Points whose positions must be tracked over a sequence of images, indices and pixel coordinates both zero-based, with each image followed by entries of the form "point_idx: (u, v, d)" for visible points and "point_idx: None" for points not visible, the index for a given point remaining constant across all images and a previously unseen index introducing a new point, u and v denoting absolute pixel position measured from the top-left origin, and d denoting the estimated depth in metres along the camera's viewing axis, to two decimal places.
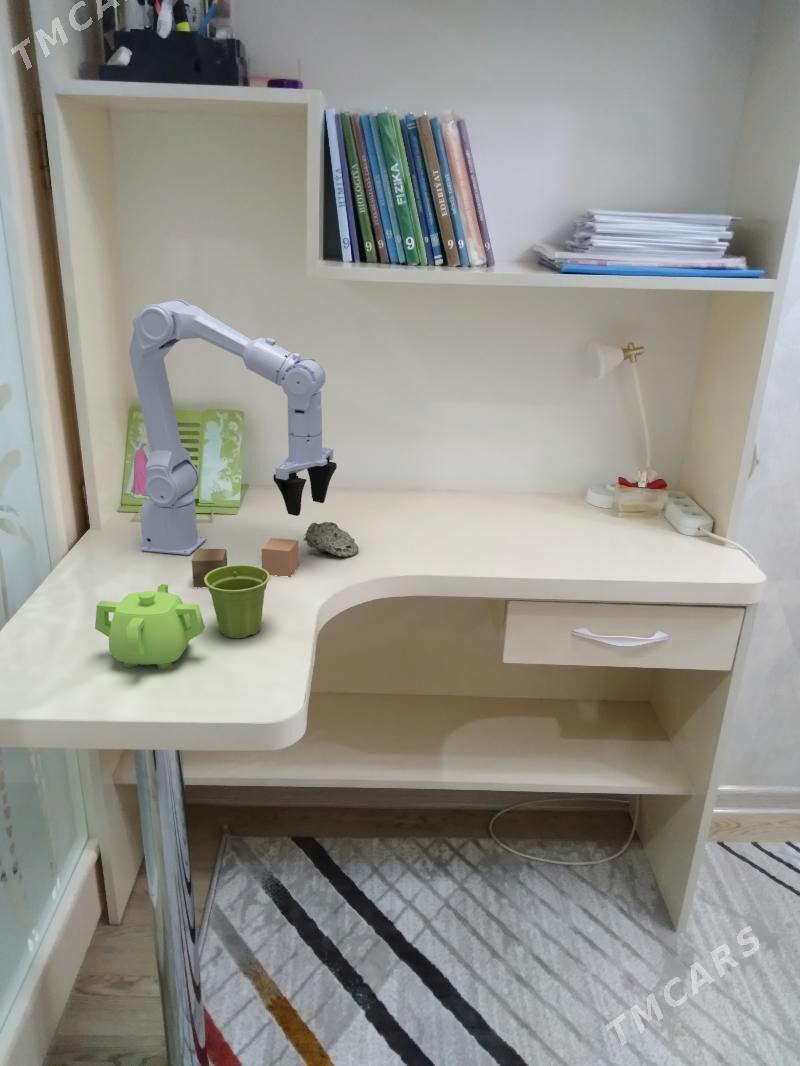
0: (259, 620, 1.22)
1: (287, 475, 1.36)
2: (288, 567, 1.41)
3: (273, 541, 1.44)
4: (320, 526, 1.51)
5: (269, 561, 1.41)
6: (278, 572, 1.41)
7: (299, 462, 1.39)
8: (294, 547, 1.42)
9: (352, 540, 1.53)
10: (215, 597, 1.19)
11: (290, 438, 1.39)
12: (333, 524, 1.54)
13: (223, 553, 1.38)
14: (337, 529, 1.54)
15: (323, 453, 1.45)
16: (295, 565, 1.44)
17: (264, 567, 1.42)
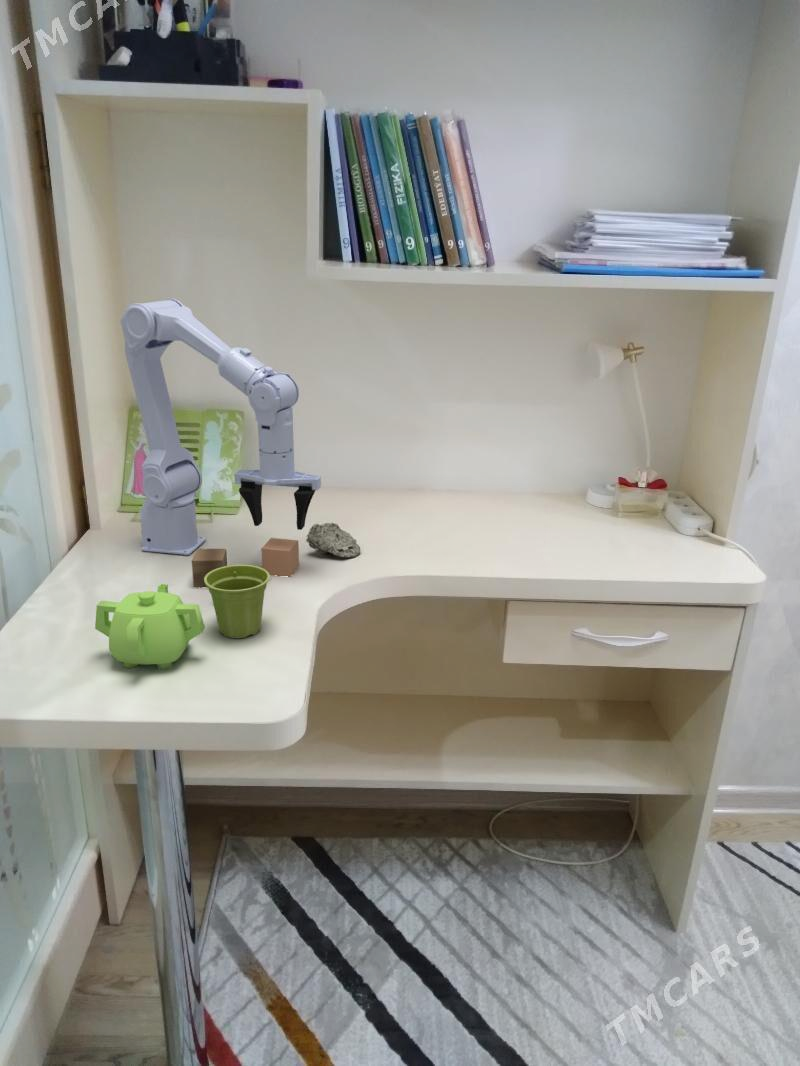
0: (259, 620, 1.22)
1: (237, 480, 1.38)
2: (288, 567, 1.41)
3: (273, 541, 1.44)
4: (322, 527, 1.50)
5: (269, 561, 1.41)
6: (278, 572, 1.41)
7: (259, 474, 1.37)
8: (294, 547, 1.42)
9: (354, 541, 1.53)
10: (215, 597, 1.19)
11: None
12: (334, 525, 1.54)
13: (223, 553, 1.38)
14: (338, 530, 1.54)
15: None
16: (295, 565, 1.44)
17: (264, 567, 1.42)
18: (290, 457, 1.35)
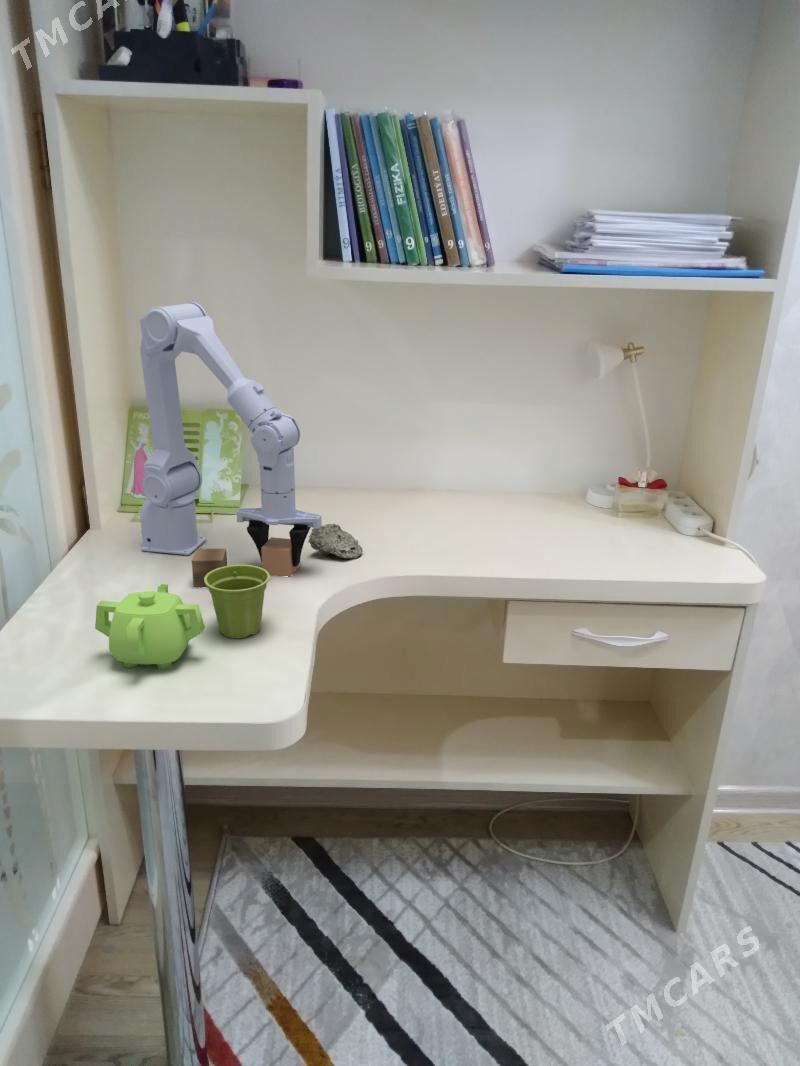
0: (259, 620, 1.22)
1: (240, 518, 1.41)
2: (288, 566, 1.41)
3: (273, 540, 1.44)
4: (324, 528, 1.50)
5: (269, 560, 1.41)
6: (278, 571, 1.41)
7: (261, 513, 1.40)
8: None
9: (356, 541, 1.52)
10: (215, 597, 1.19)
11: None
12: (336, 526, 1.53)
13: (223, 553, 1.38)
14: (340, 531, 1.53)
15: None
16: None
17: (264, 566, 1.42)
18: (291, 497, 1.38)
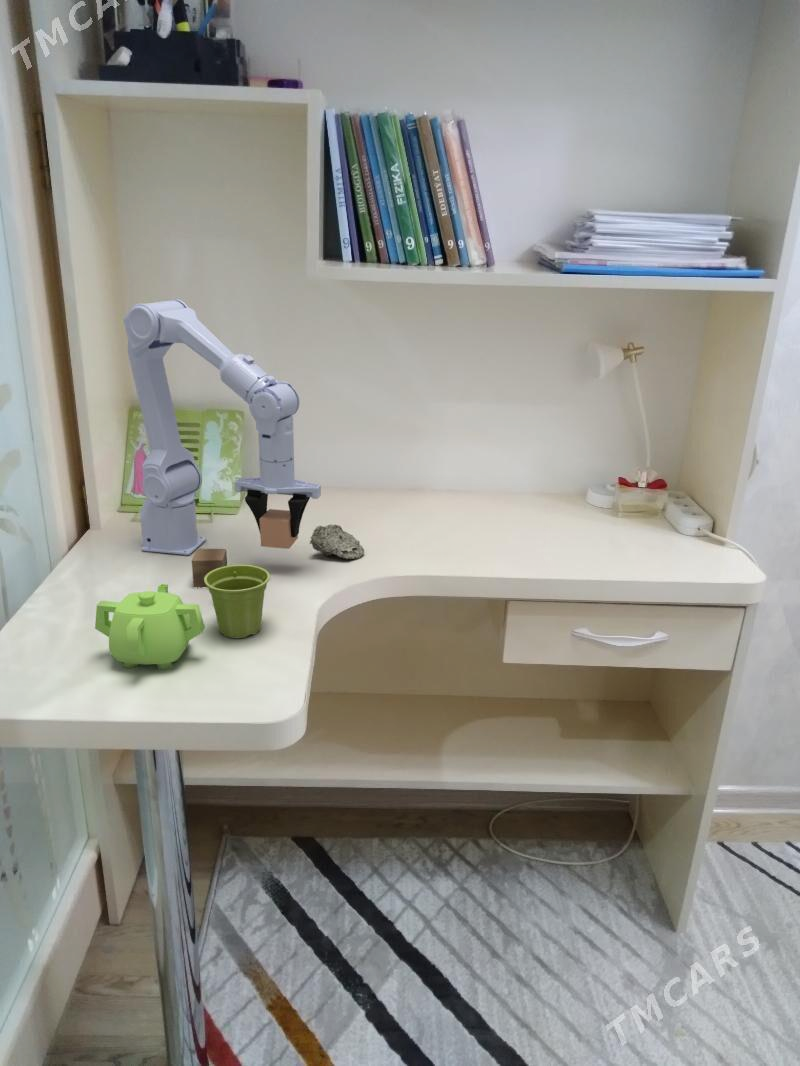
0: (259, 620, 1.22)
1: (238, 488, 1.39)
2: (287, 538, 1.39)
3: (271, 512, 1.42)
4: (325, 529, 1.50)
5: (267, 532, 1.39)
6: (277, 543, 1.39)
7: (260, 482, 1.38)
8: None
9: (357, 542, 1.52)
10: (215, 597, 1.19)
11: None
12: (337, 526, 1.53)
13: (223, 553, 1.38)
14: (341, 531, 1.53)
15: None
16: (294, 537, 1.42)
17: (262, 538, 1.40)
18: (290, 466, 1.36)
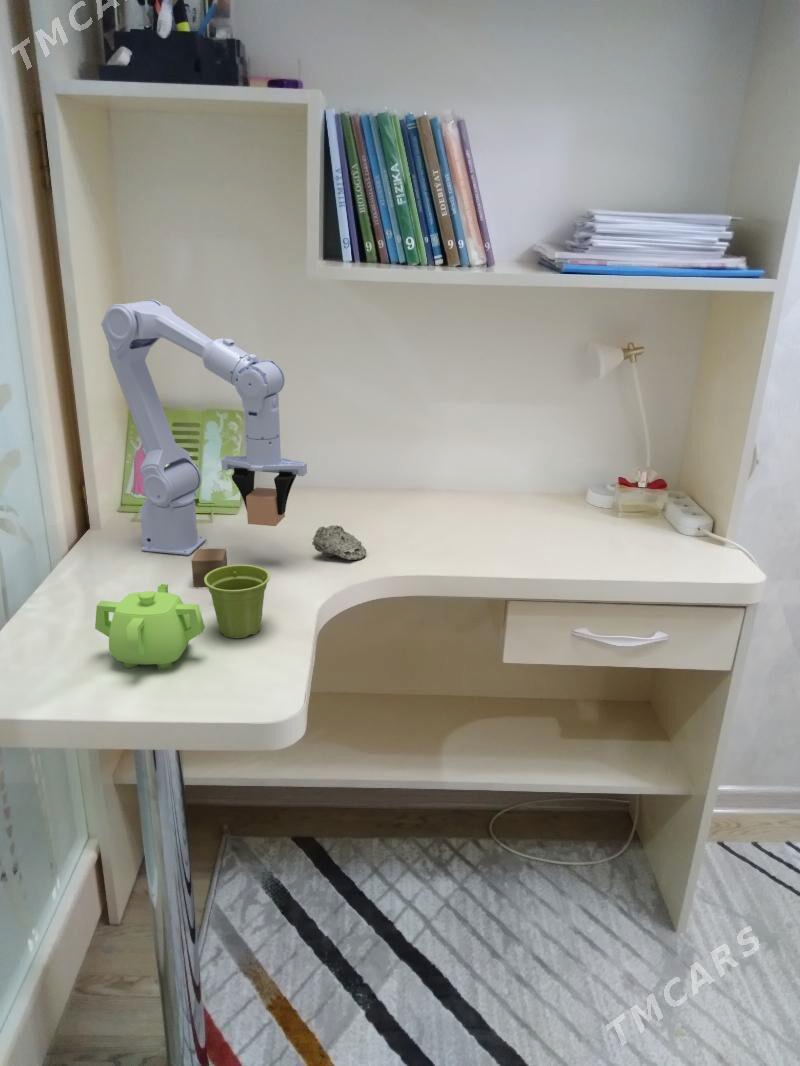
0: (259, 620, 1.22)
1: (224, 466, 1.40)
2: (273, 515, 1.40)
3: (258, 490, 1.43)
4: (327, 530, 1.49)
5: (254, 509, 1.40)
6: (263, 520, 1.41)
7: (246, 460, 1.39)
8: None
9: (359, 543, 1.52)
10: (215, 597, 1.19)
11: None
12: (339, 527, 1.52)
13: (223, 553, 1.38)
14: (343, 532, 1.53)
15: None
16: (281, 515, 1.43)
17: (249, 516, 1.41)
18: (276, 443, 1.37)
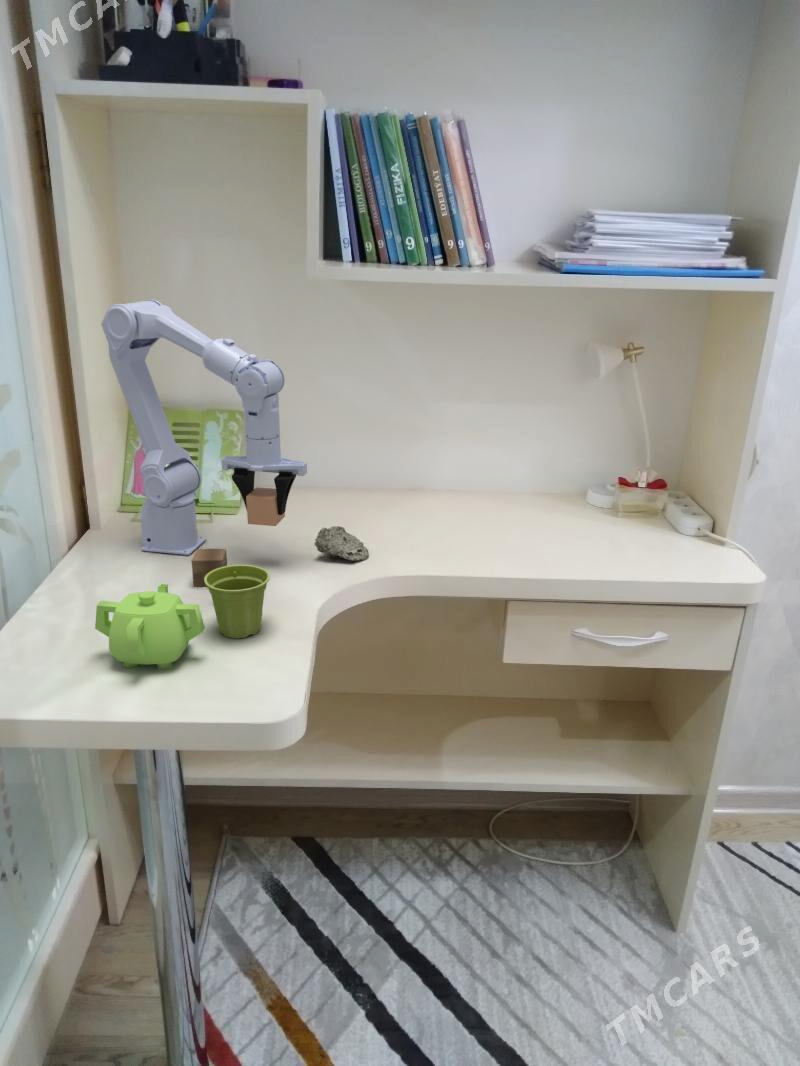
0: (259, 620, 1.22)
1: (224, 466, 1.40)
2: (273, 515, 1.40)
3: (258, 490, 1.43)
4: (329, 531, 1.49)
5: (254, 509, 1.40)
6: (263, 520, 1.41)
7: (246, 460, 1.39)
8: None
9: (361, 544, 1.52)
10: (215, 597, 1.19)
11: None
12: (341, 528, 1.52)
13: (223, 553, 1.38)
14: (345, 533, 1.52)
15: None
16: (281, 515, 1.43)
17: (249, 516, 1.41)
18: (276, 443, 1.37)
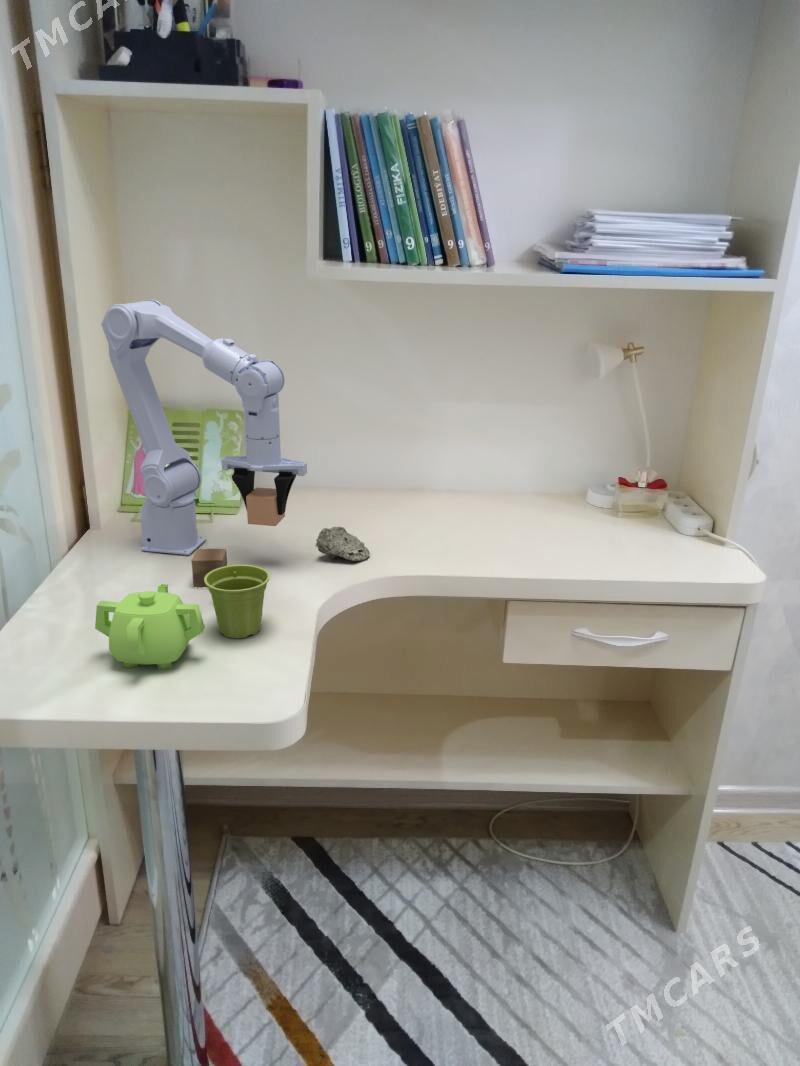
0: (259, 620, 1.22)
1: (224, 466, 1.40)
2: (273, 515, 1.40)
3: (258, 490, 1.43)
4: (330, 531, 1.49)
5: (254, 509, 1.40)
6: (263, 520, 1.41)
7: (246, 460, 1.39)
8: None
9: (362, 544, 1.51)
10: (215, 597, 1.19)
11: None
12: (341, 528, 1.52)
13: (223, 553, 1.38)
14: (345, 533, 1.52)
15: None
16: (281, 515, 1.43)
17: (249, 516, 1.41)
18: (276, 443, 1.37)
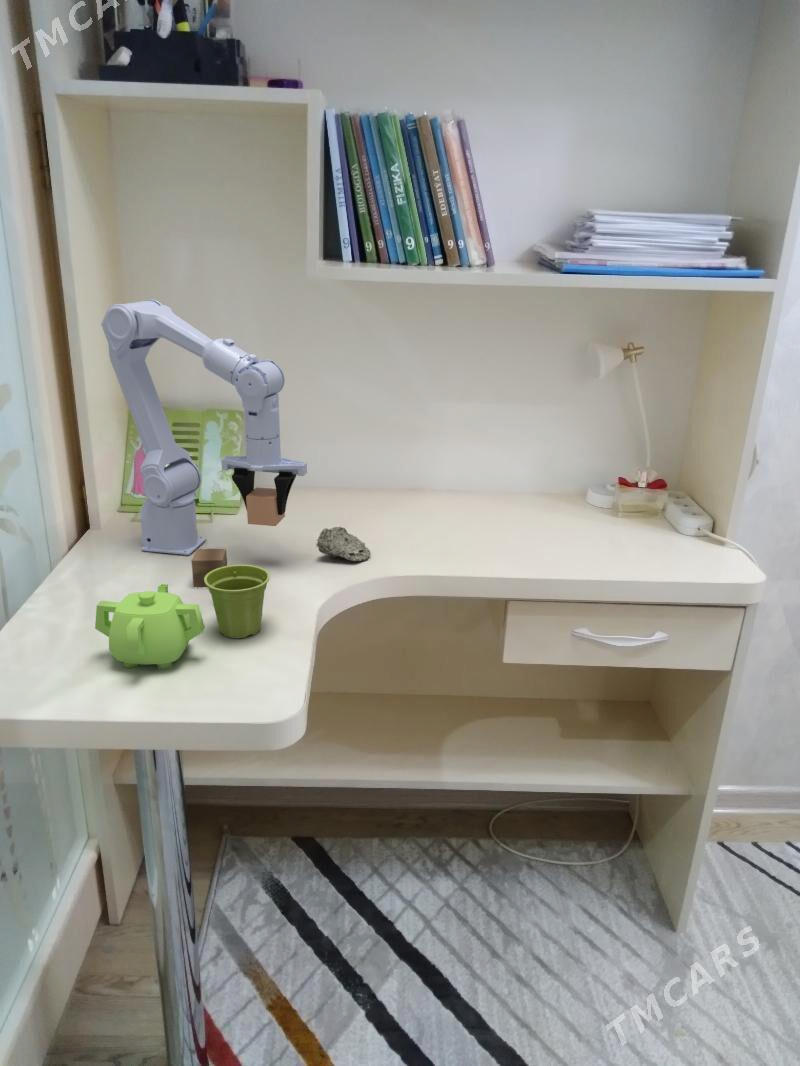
0: (259, 620, 1.22)
1: (224, 466, 1.40)
2: (273, 515, 1.40)
3: (258, 490, 1.43)
4: (331, 531, 1.49)
5: (254, 509, 1.40)
6: (263, 520, 1.41)
7: (246, 460, 1.39)
8: None
9: (362, 544, 1.51)
10: (215, 597, 1.19)
11: None
12: (342, 529, 1.52)
13: (223, 553, 1.38)
14: (346, 533, 1.52)
15: None
16: (281, 515, 1.43)
17: (249, 516, 1.41)
18: (276, 443, 1.37)
